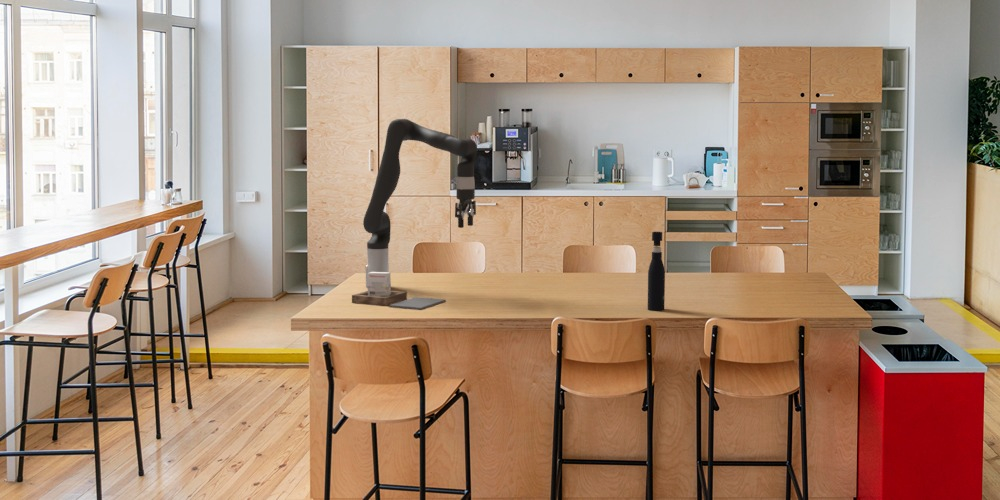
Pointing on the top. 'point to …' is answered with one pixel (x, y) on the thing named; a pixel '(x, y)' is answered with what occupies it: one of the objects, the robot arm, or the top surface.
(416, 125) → the robot arm
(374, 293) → the ink box
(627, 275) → the top surface
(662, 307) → the wine bottle
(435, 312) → the top surface
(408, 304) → the rubber mat
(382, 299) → the frame
